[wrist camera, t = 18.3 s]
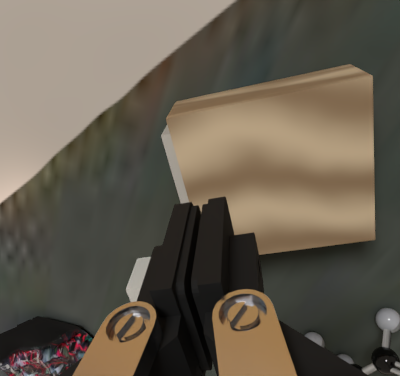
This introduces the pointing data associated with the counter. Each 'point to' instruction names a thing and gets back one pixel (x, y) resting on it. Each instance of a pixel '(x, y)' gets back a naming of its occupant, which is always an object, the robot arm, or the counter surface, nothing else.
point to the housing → (284, 157)
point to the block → (137, 278)
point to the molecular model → (382, 356)
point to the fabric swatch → (42, 347)
